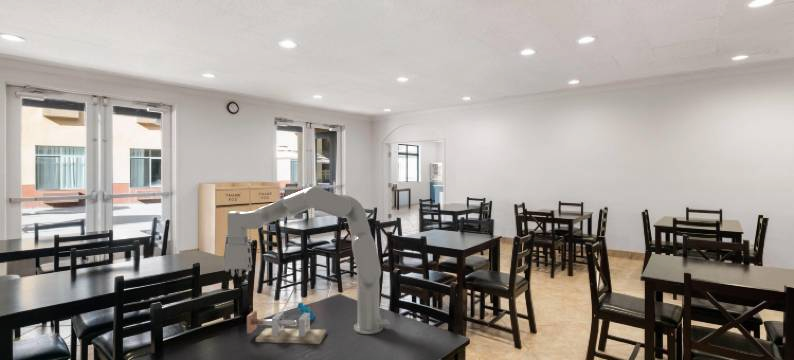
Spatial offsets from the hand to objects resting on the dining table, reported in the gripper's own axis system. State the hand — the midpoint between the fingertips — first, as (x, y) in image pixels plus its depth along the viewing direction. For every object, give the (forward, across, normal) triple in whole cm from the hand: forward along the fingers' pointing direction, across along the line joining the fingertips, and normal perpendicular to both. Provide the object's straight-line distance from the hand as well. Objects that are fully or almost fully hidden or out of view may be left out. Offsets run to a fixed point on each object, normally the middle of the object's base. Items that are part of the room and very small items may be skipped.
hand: (238, 285), depth 161 cm
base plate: (+21, -22, 0) cm, 31 cm away
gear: (+21, -22, -20) cm, 37 cm away
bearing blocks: (+20, -22, 0) cm, 30 cm away
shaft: (+19, -15, 0) cm, 24 cm away
